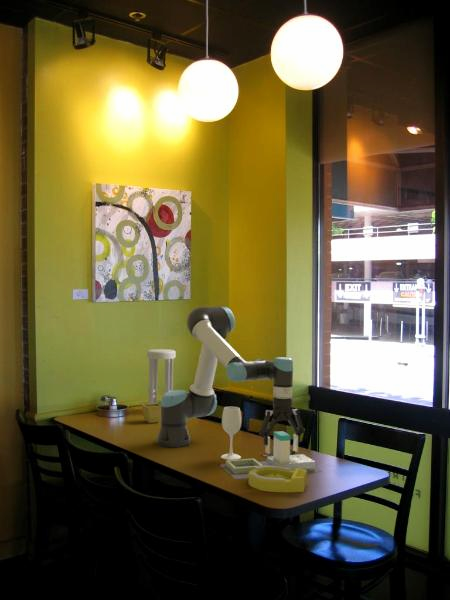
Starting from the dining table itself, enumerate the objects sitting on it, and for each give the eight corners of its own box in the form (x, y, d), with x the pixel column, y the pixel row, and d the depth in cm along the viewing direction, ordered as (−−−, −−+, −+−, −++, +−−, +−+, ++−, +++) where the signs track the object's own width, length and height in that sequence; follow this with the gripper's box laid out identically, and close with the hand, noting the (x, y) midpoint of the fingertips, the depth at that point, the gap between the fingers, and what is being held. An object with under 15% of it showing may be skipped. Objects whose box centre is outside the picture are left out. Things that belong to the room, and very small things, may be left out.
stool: (176, 410, 358) (177, 349, 357) (170, 415, 343) (171, 352, 342) (150, 409, 360) (151, 348, 359) (143, 414, 345) (144, 351, 344)
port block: (277, 473, 240) (277, 463, 240) (266, 465, 250) (266, 456, 250) (315, 470, 245) (315, 460, 245) (303, 462, 255) (303, 453, 255)
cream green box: (279, 471, 242) (280, 435, 242) (273, 466, 249) (273, 431, 249) (289, 470, 243) (290, 435, 243) (282, 465, 250) (283, 431, 250)
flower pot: (141, 421, 328) (141, 404, 328) (156, 419, 332) (157, 402, 332) (147, 424, 321) (147, 407, 320) (163, 423, 325) (163, 405, 325)
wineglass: (244, 456, 265) (244, 407, 264) (237, 461, 256) (238, 410, 256) (224, 454, 267) (225, 405, 267) (217, 459, 259) (218, 409, 259)
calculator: (260, 457, 265) (260, 450, 265) (281, 453, 272) (281, 446, 272) (274, 462, 257) (274, 455, 257) (295, 458, 264) (295, 451, 264)
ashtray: (301, 495, 217) (302, 481, 216) (243, 488, 222) (244, 474, 222) (308, 480, 232) (308, 467, 232) (254, 474, 238) (254, 461, 238)
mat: (235, 480, 232) (235, 479, 232) (219, 465, 250) (219, 464, 250) (322, 472, 243) (322, 471, 243) (301, 459, 261) (301, 458, 261)
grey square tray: (234, 473, 239) (234, 468, 239) (225, 465, 249) (225, 460, 249) (263, 471, 242) (263, 466, 242) (253, 463, 253) (254, 458, 253)
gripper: (258, 399, 238) (257, 456, 239) (314, 397, 246) (313, 452, 246) (251, 396, 245) (250, 451, 246) (306, 394, 253) (304, 447, 253)
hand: (281, 452), depth 246 cm, fingers open, 11 cm apart
